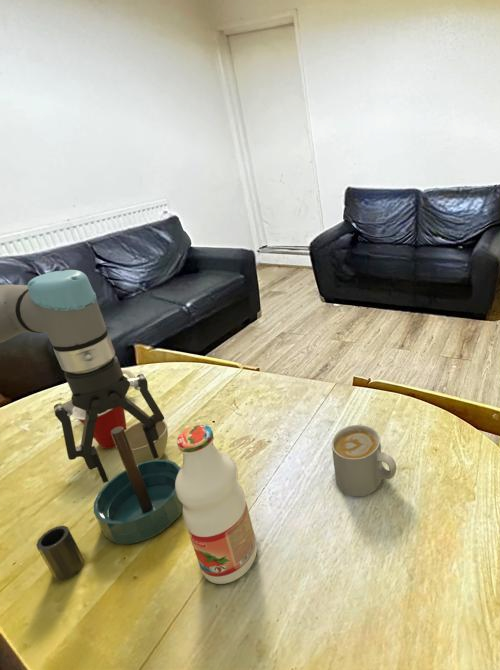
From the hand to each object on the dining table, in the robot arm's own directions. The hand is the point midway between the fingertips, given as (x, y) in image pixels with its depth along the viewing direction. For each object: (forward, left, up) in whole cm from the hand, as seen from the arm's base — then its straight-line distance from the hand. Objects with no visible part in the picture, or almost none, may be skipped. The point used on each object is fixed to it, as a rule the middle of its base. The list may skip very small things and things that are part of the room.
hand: (130, 465), depth 78 cm
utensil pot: (-7, -12, -12) cm, 18 cm away
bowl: (0, 0, -12) cm, 12 cm away
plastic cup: (-21, +19, -12) cm, 31 cm away
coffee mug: (+43, +9, -12) cm, 46 cm away
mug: (-32, +36, -12) cm, 50 cm away
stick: (0, 0, -11) cm, 11 cm away
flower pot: (-8, +14, -12) cm, 20 cm away
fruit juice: (+21, -9, -12) cm, 26 cm away
